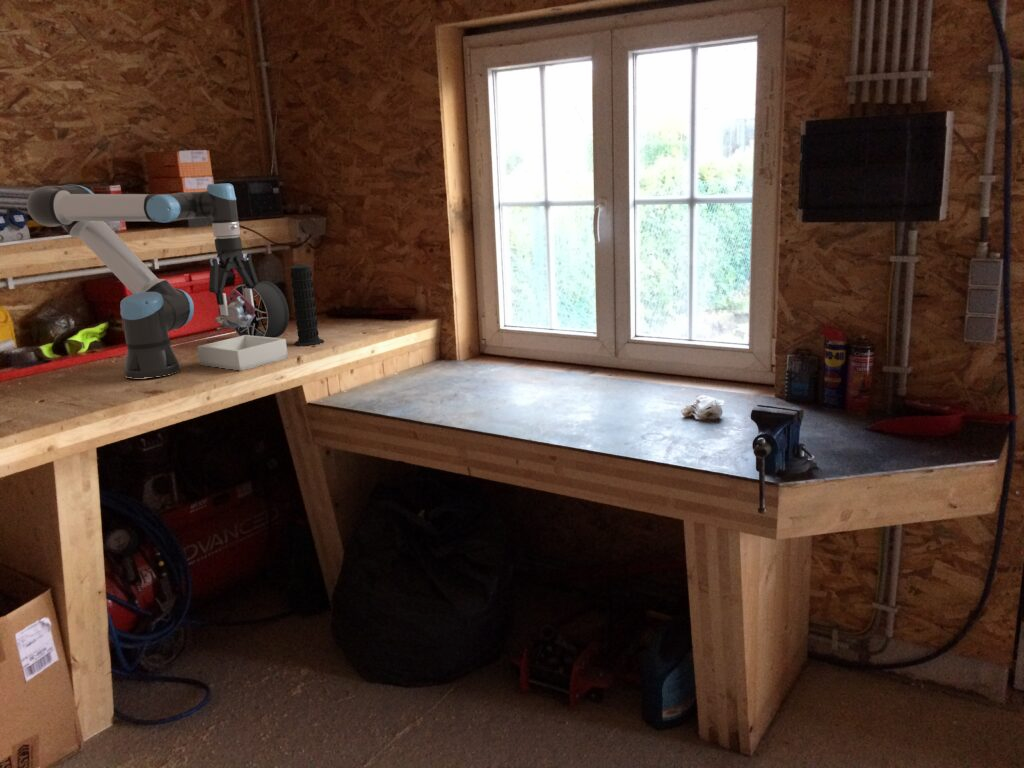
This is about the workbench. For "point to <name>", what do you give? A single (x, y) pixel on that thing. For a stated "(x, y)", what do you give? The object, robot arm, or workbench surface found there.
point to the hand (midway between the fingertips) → (237, 312)
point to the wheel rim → (274, 310)
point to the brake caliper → (236, 312)
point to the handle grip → (304, 305)
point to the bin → (242, 352)
